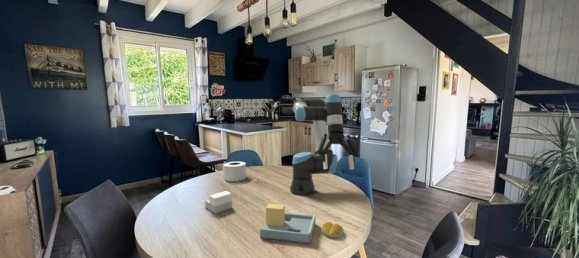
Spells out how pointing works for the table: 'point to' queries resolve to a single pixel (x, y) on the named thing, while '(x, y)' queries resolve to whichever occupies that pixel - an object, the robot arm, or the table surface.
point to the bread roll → (332, 230)
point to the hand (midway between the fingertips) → (339, 169)
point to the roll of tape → (234, 171)
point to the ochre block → (275, 215)
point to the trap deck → (291, 229)
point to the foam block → (219, 202)
